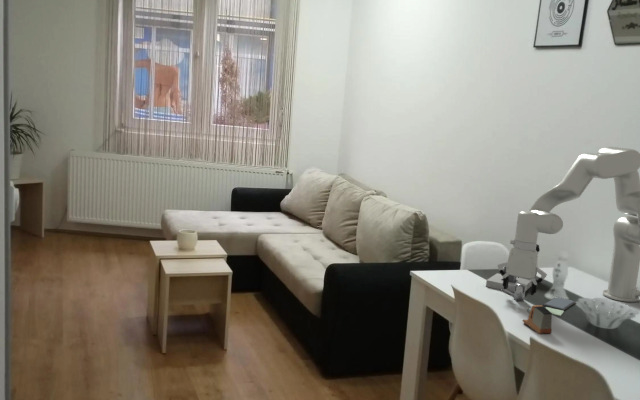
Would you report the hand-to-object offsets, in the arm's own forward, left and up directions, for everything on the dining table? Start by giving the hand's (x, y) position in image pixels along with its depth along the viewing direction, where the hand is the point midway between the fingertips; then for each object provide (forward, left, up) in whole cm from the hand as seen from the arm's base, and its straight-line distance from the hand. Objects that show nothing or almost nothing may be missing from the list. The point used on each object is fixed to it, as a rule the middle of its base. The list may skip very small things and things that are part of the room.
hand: (518, 291), depth 215 cm
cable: (+5, -6, -3) cm, 8 cm away
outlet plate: (+8, -16, -3) cm, 18 cm away
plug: (0, 0, -3) cm, 3 cm away
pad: (-13, +5, -3) cm, 14 cm away
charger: (+8, -16, -3) cm, 18 cm away
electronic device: (-13, +26, -4) cm, 30 cm away
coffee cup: (+6, -34, -4) cm, 35 cm away
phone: (-13, -6, -4) cm, 15 cm away
